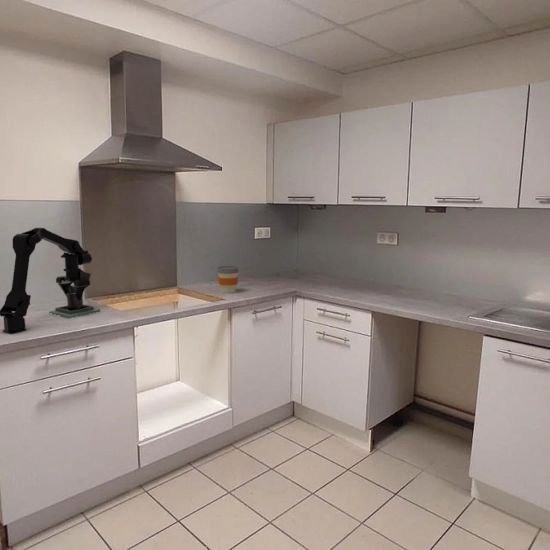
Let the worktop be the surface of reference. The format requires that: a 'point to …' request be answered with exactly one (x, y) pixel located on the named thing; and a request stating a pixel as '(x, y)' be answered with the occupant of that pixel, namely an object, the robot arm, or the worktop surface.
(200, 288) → the worktop surface
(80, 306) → the supplement bottle
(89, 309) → the dock board
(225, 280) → the reusable coffee cup
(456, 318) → the worktop surface
